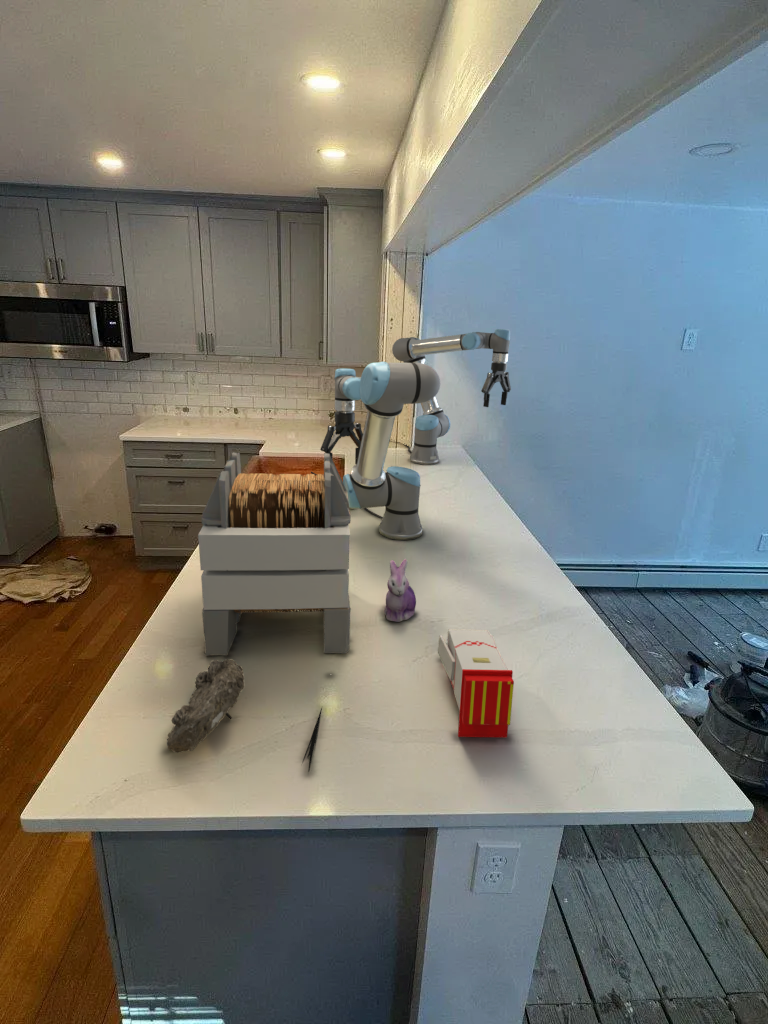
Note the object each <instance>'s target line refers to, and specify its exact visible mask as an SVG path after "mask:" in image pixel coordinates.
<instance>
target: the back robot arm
mask: <svg viewBox="0 0 768 1024" xmlns="http://www.w3.org/2000/svg"><path fill="white" fill-rule="evenodd" d="M510 341H511V331H510V329H504V328H495V330H494V332H485V331H484V332H483V331H482V332H481V331H472V332H468V333H461V334H454V335H452V334H451V335H446V336H437V337H429V338H423V339H420V338H418V337H414V336H411V337H400V338H398V339H397V340H395V341H394V342H393V345H392V348H391V352H392V355H393V357H394V358H395V359H396V360H397V361H399V362H402V363H423V364H426V360H427V358H426V356H428V355H435V354H436V355H437V354H444V353H454V352H462V351H474V350H479V349H484V350H486V349H487V350H492V358H491V361H492V362H491V365H490V370H491V372H487V374H486V378H485V380H484V383H483V385H482V388H481V391H480V392H481V393H482V394H483V407H484V408H489V407H490V399H491V398H490V396H491V394H490V392H491V391H492V389H493V387H494V385H495V384H496V383H498V382H499V384H500V386H501V388H502V391H501V397H500V405H501V406H507V399H508V394H509V393H510V392H511V390H512V388H511V387H512V386H511V381H510V372H509V371H507V368H508V363H507V362H509V361H508V360H509V350H510ZM420 405H421V408H422V412H423V413H422V414H421V415H418V416H417V417H416V419H415V423H414V438H413V439H414V443H413V448H412V450H411V446H409V445H408V444H406V445H404V446H405V447H406V448H407V451H408V452H409V453H410V455H409V462H411V463H413V464H416V465H423V466H424V465H425V466H427V465H428V466H429V465H430V466H431V465H437V464H439V463H440V457H439V453H438V449H437V444H438V439H439V438H442V437H444V436H445V435H447V433H448V432H449V431H450V429H451V419H450V418H449V416H448V415H447V414H445V412H444V409H443V408H442V407H440V406H439V403H438V400H437V398H436V396H435V397H434V398H432V399H431V400H429V401H427V402H423V403H420ZM407 445H408V446H407Z"/></svg>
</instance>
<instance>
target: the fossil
mask: <svg viewBox="0 0 768 1024" xmlns="http://www.w3.org/2000/svg"><path fill="white" fill-rule="evenodd" d="M243 670H244V669H243V667H242V665H240V664H237V662H236V661H235V660H234V659H232V658H231V659H227V658H226V659H224V660H223V661H222V660H217V659H212V660H211V661H210V663H209V665H208V666H207V671H201V672H199V673H198V674H197V675H196V676H195V680H194V684H195V685H194V687H195V689H194V690H193V693H192V694H191V697H190V698H189V700H188V704H184V705H182V706H181V707H180V709H177V710H176V711H175V713H174V715H173V716H172V718H171V723H172V724H173V727H172V730H171V731H170V732H168V734H167V738H166V741H167V742H166V745H167V749H168V750H169V751H173V752H174V753H176V754H178V753H182V752H188V751H189V752H192V751H193V750H195V748H196V747H197V746H199V744H200V743H201V742H203V741H204V740H205V739H206V738H207V737H208V736H209V735H210V734H211V733H212V732H214V730H215V729H217V727H218V726H219V724H220V722H221V721H222V720H223V719H224V718H225V716H226V717H227V719H229V720H233V717H232V715H230V714H229V710H230V709H231V708H234V706H235V704H236V703H237V702H238V699H239V697H240V695H241V693H242V691H243V690H245V689H244V688H245V675H244V671H243Z"/></svg>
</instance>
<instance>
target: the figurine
mask: <svg viewBox="0 0 768 1024" xmlns="http://www.w3.org/2000/svg"><path fill="white" fill-rule="evenodd" d="M407 567H408V559H406V558H404V559H403V560H402V561H401V563H400V565H399V566H398V565H397V563H396V562H395V561H394V560H393V559H391V560H390V561H389V570H390V576H389V578H388V579H387V589H388V591H387V592H386V594H385V595H386V596H385V607H384V615H385V616H386V620H387V621H391V622H395V623H400V622H402V621H406V620H409V619H410V618H411V617H413V616H414V615H415V610H416V606H417V597H416V593H415V591H414V590H413V587H411V586H410V582H409V579H408V577H407V574H406V571H407Z"/></svg>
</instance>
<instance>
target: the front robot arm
mask: <svg viewBox="0 0 768 1024" xmlns="http://www.w3.org/2000/svg"><path fill="white" fill-rule="evenodd" d="M356 373H357V372H356V370H355V369H354V368H343V367H341V368H337V369H335V371H334V425H330V424H329V425H327V431H326V433H325V436H324V439H323V441H322V443H321V447H320V449H319V450H320V451H321V452H324V453H328V454H330V456H331V458H332V460H333V457H334V456H333V449H334V447H335V446H336V445H337V443H338V441H339V440H340V439H341V438H345V437H350V439H351V440H352V442H353V443H354V444H355V446H356V447H355V451H354V452H355V454H354V455H355V456H354V457H355V458H354V460H355V461H354V465H353V466H352V468H351V470H350V473H346V474H344V475H343V477H342V478H343V479H342V482H343V484H344V486H345V488H346V490H347V495H348V502H349V507H350V508H356V509H361V510H362V509H364V511H366V512H368V513H369V514H371V515H373V516H375V517H377V518H379V519H381V522H379V525H378V533H379V534H380V535H381V536H382V537H385V538H387V539H389V540H395V541H410V540H415V539H418V538H420V537H421V536H422V535H423V525H422V524H421V518H420V515H419V507H420V506H419V505H420V496H421V495H420V494H421V493H420V492H421V486H422V485H421V474H420V473H419V472H418V471H416V470H414V469H412V468H408V467H404V466H396V465H395V466H394V465H393V466H392V465H391V466H388V467H387V468H386V472H385V471H384V467H385V463H386V458H387V453H388V449H389V447H390V446H389V445H390V442H391V441H390V439H391V437H392V433H393V429H394V425H395V420H396V417H397V416H399V415H401V413H402V412H403V409H404V405H415V404H416V405H417V404H421V403H423V402H427V401H429V400H431V399H432V398H434V397H436V396H437V395H438V393H439V391H440V388H441V378H440V375H439V373H438V372H437V371H436V370H435V369H434V368H433V367H432V366H430V365H428V364H426V363H424V364H423V363H404V362H387V361H379V362H370V363H369V364H367V365H366V366H365V367H364V369H363V370H362V373H361V376H356V375H357V374H356ZM359 400H360V401H361V402H362V403H363V406H364V408H365V410H367V411H366V416H365V422H364V426H363V430H362V424H361V423H360V422H355V421H356V413H355V411H356V401H359ZM354 431H355V432H354ZM333 461H334V460H333ZM310 474H315V477H316V474H317V473H315V472H313V471H310ZM383 507H384V508H385V509H384V513H383V515H382V516H381V515H380V514H377V513H375V512H373V511H372V510H370V509H369V508H383Z"/></svg>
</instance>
